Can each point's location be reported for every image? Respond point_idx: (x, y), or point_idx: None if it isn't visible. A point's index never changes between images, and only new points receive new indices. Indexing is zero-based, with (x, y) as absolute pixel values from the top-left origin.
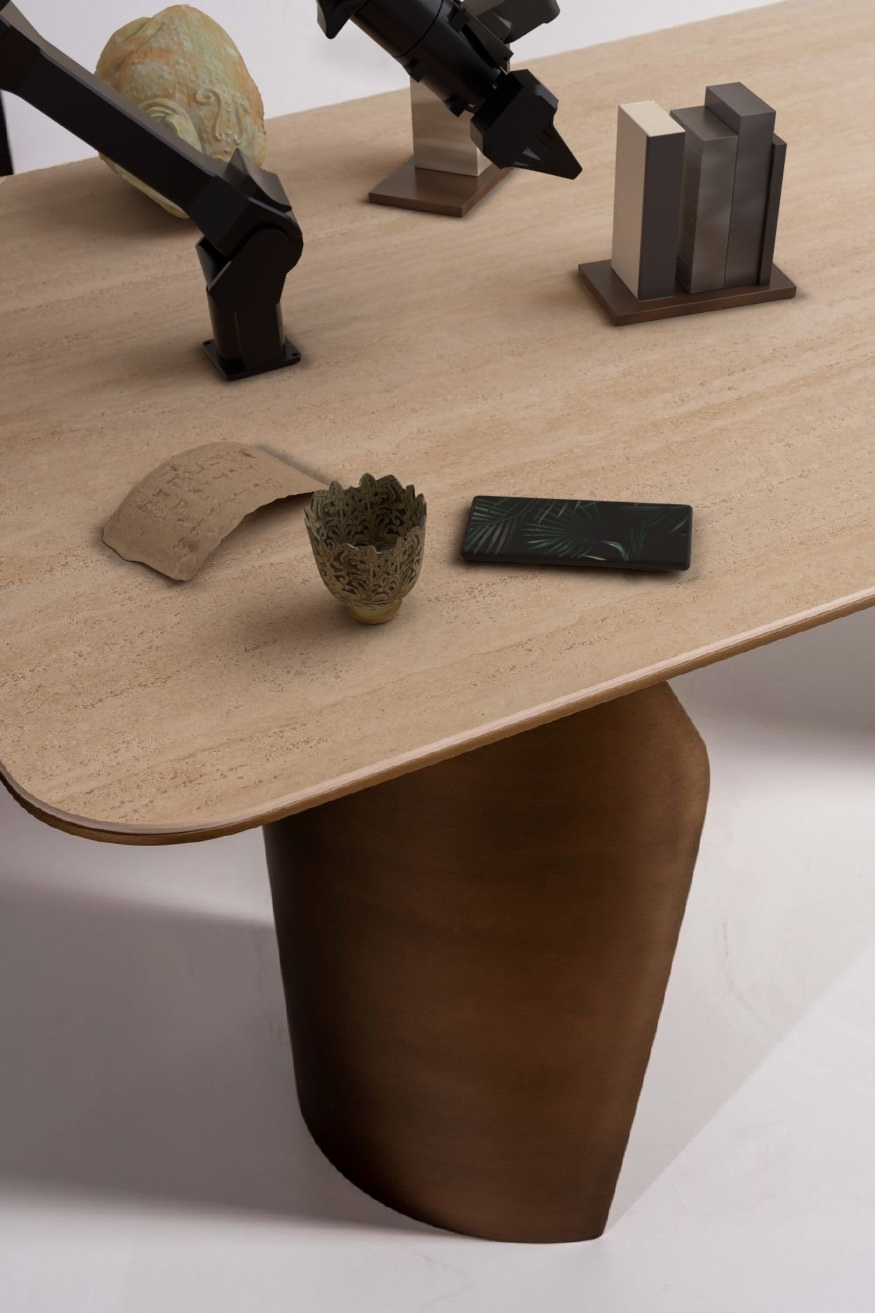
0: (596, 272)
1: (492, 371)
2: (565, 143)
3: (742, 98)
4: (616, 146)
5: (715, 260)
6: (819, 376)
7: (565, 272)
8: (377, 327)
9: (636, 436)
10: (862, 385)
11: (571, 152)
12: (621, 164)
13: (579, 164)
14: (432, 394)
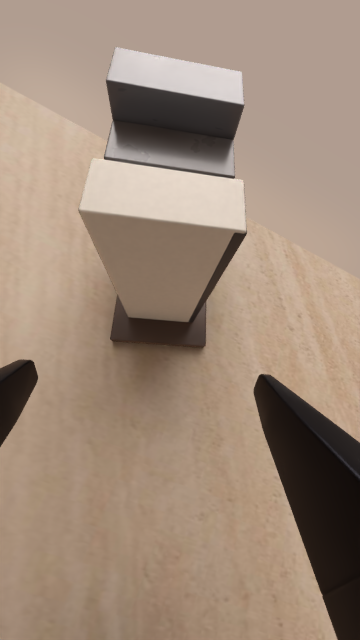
0: (131, 331)
1: (239, 472)
2: (356, 440)
3: (181, 74)
4: (103, 260)
5: None
6: (296, 265)
7: (103, 348)
8: (121, 574)
9: (344, 396)
10: (309, 252)
11: (316, 410)
12: (129, 272)
13: (280, 383)
14: (262, 545)
